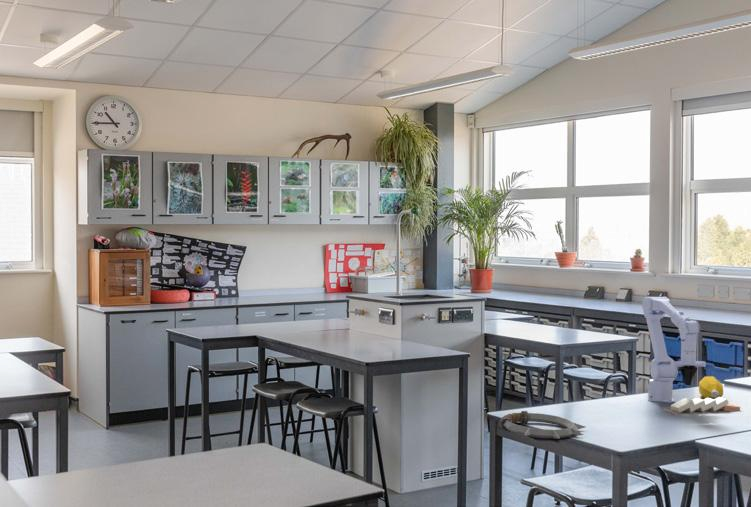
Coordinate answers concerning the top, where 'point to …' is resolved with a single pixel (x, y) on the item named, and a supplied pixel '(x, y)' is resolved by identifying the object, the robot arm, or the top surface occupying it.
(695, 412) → the domino board
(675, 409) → the domino
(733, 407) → the domino
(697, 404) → the domino
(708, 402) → the domino
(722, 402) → the domino
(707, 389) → the yellow elongated lump
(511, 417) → the spiked ring
